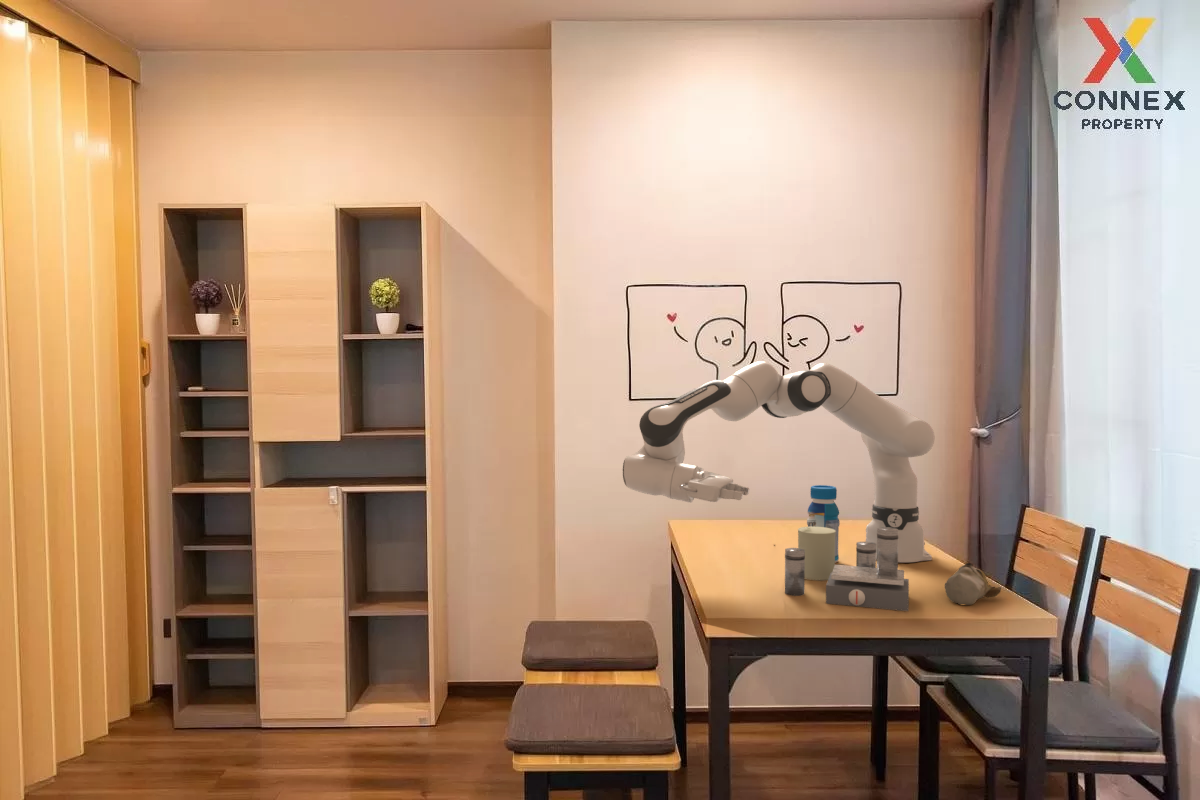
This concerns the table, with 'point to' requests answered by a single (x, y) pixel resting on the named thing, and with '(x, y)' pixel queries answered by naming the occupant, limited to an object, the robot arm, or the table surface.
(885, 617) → the table surface
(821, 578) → the can
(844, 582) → the scale body
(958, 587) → the ceramic sculpture
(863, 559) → the cylinder
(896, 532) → the cylinder
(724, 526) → the table surface
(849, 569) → the scale pan
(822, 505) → the beverage bottle
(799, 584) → the cylinder
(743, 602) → the table surface
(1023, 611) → the table surface
